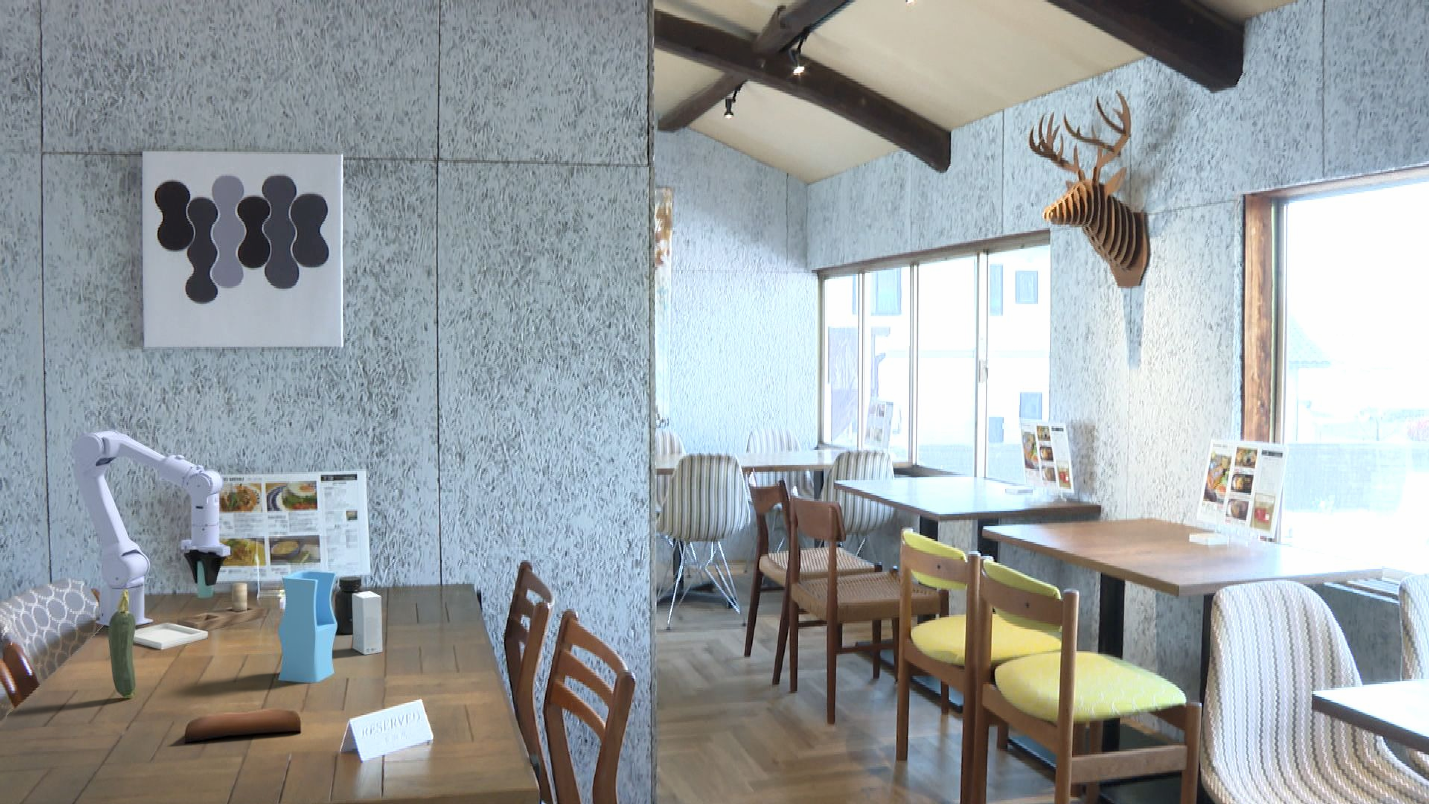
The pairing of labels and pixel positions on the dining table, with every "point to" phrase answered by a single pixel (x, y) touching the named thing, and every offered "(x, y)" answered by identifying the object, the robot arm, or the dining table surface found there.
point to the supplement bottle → (345, 603)
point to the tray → (167, 635)
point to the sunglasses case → (242, 723)
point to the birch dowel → (239, 597)
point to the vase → (307, 627)
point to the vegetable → (122, 647)
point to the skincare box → (367, 622)
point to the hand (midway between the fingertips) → (205, 584)
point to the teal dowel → (203, 584)
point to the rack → (222, 618)
